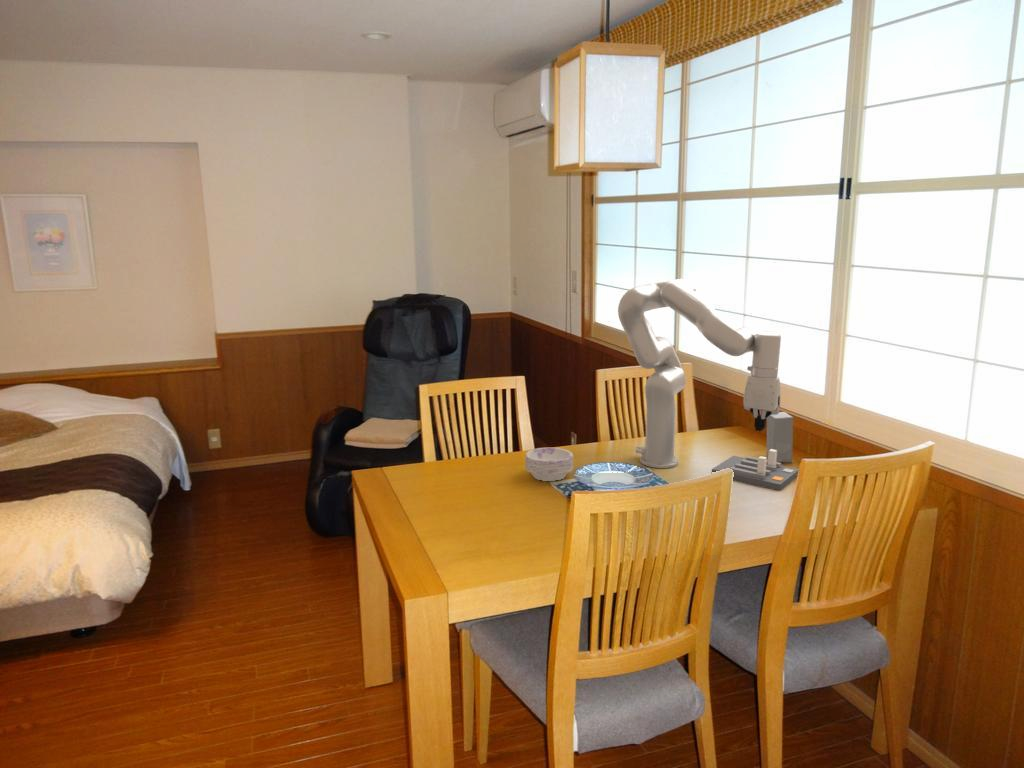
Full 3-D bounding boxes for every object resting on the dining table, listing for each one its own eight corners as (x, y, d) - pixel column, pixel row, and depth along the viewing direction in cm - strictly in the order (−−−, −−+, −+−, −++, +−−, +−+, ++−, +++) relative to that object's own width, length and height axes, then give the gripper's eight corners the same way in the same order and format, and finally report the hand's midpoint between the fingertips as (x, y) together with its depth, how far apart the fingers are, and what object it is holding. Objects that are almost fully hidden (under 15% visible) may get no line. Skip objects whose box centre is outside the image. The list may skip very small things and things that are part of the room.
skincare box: (792, 463, 248) (796, 417, 244) (771, 463, 248) (774, 417, 244) (784, 454, 256) (787, 410, 252) (763, 455, 256) (766, 410, 252)
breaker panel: (711, 475, 237) (711, 465, 236) (733, 461, 250) (733, 452, 249) (779, 490, 224) (780, 480, 223) (798, 475, 236) (799, 465, 236)
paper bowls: (552, 465, 247) (552, 443, 245) (582, 478, 235) (583, 454, 233) (515, 475, 238) (515, 452, 237) (545, 489, 226) (545, 464, 225)
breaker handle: (767, 467, 237) (768, 450, 236) (769, 465, 239) (770, 448, 238) (773, 468, 236) (774, 451, 235) (775, 466, 238) (777, 450, 236)
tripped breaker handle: (756, 474, 231) (758, 457, 229) (759, 473, 232) (760, 456, 231) (763, 476, 229) (764, 459, 228) (765, 474, 231) (766, 457, 230)
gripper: (735, 370, 226) (731, 428, 230) (784, 378, 217) (779, 437, 221) (745, 366, 231) (741, 422, 236) (793, 373, 222) (788, 432, 227)
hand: (759, 430), depth 228 cm, fingers closed
